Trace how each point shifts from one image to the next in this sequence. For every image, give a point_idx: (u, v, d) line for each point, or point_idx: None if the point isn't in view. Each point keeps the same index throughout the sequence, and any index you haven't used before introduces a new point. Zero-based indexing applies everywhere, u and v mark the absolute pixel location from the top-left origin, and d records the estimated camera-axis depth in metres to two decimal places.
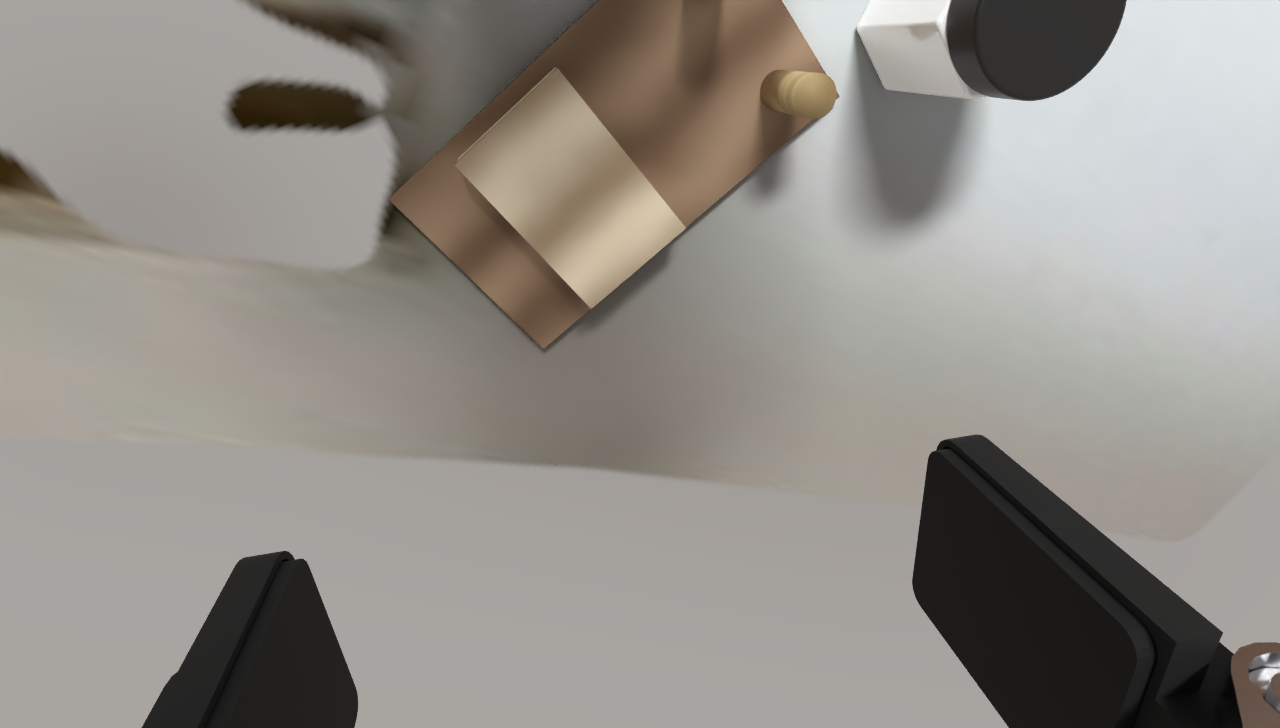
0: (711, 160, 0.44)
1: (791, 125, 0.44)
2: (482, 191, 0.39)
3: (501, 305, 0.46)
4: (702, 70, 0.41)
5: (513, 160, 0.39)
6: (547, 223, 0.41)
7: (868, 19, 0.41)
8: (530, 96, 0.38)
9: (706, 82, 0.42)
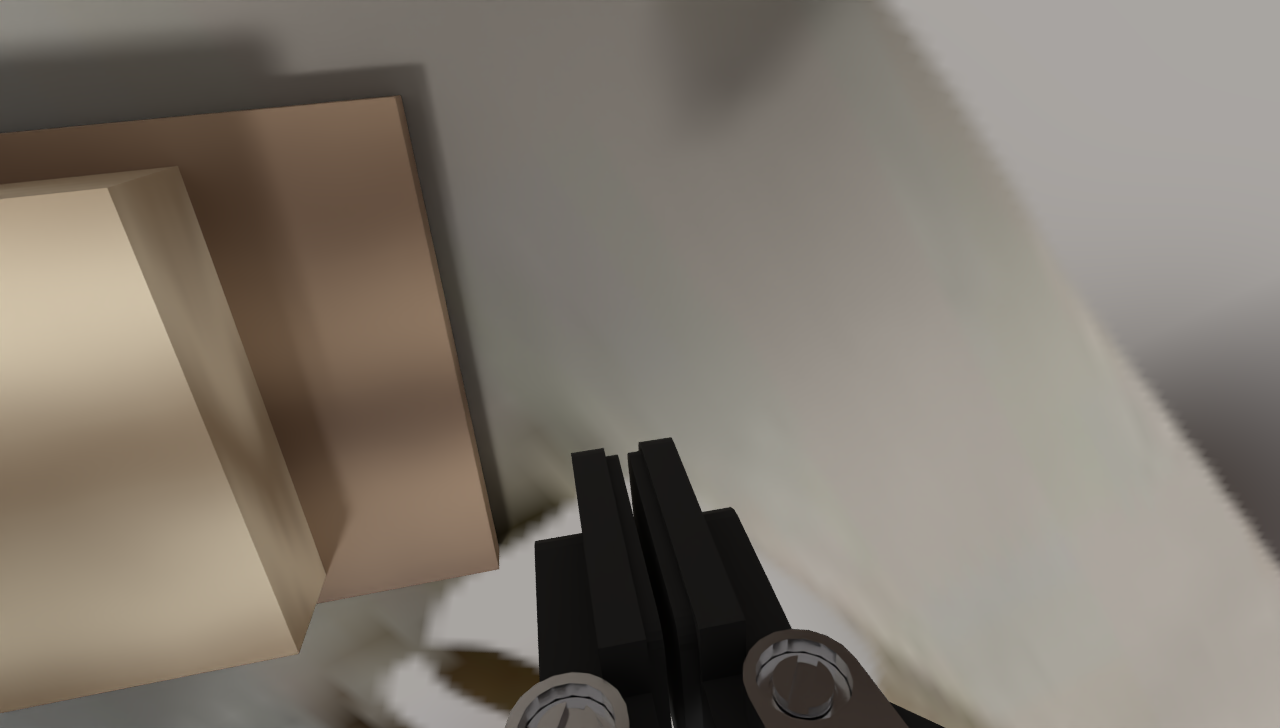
0: None
1: None
2: (268, 594, 0.17)
3: (428, 278, 0.17)
4: None
5: (156, 618, 0.16)
6: (138, 472, 0.15)
7: None
8: (52, 700, 0.17)
9: None
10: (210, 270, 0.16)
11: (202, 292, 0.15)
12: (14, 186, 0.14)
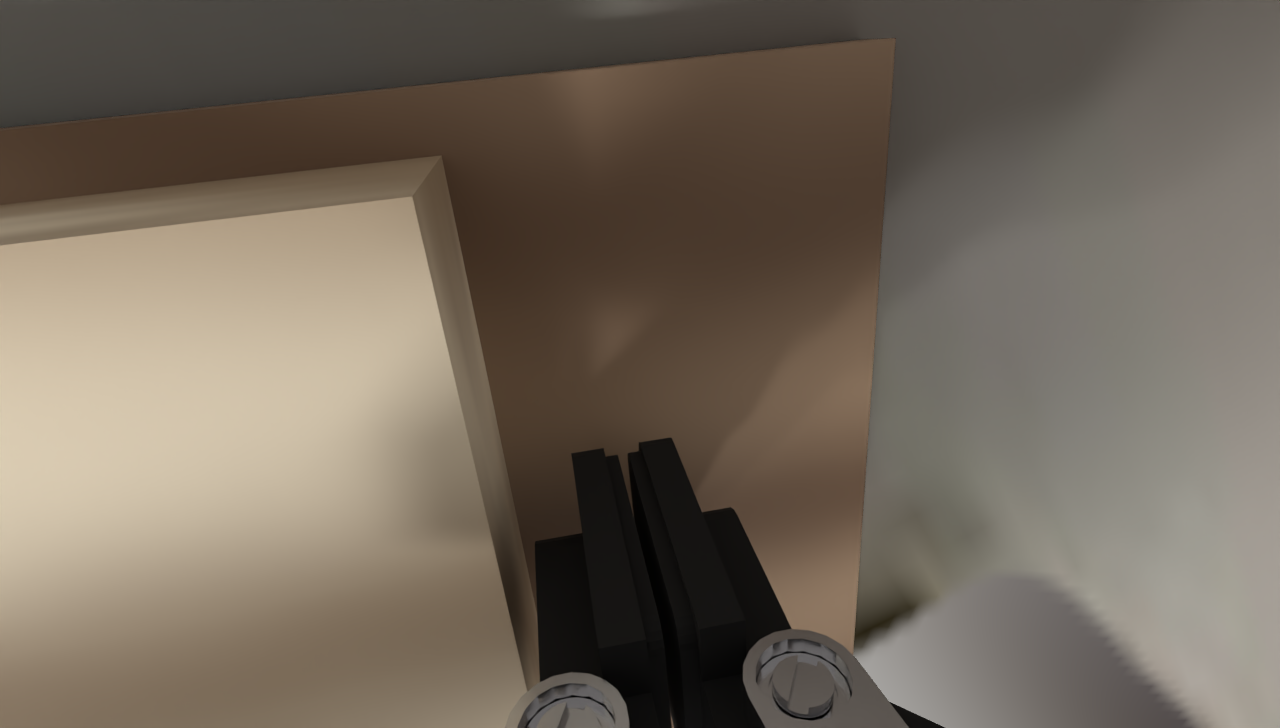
0: None
1: None
2: None
3: (867, 317, 0.12)
4: None
5: None
6: (389, 660, 0.09)
7: None
8: None
9: None
10: (473, 320, 0.10)
11: (475, 359, 0.10)
12: (197, 190, 0.08)
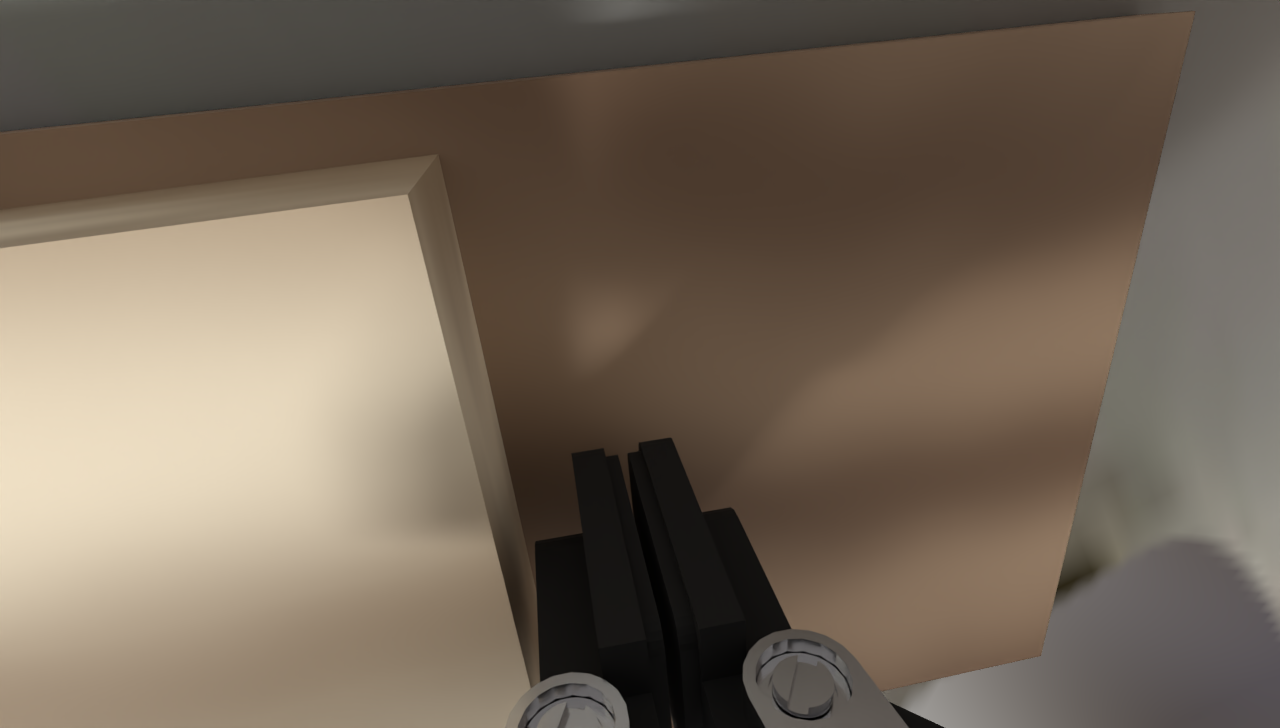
0: None
1: None
2: None
3: (1123, 280, 0.12)
4: None
5: None
6: (392, 657, 0.09)
7: None
8: None
9: None
10: (473, 319, 0.10)
11: (475, 357, 0.10)
12: (196, 192, 0.08)
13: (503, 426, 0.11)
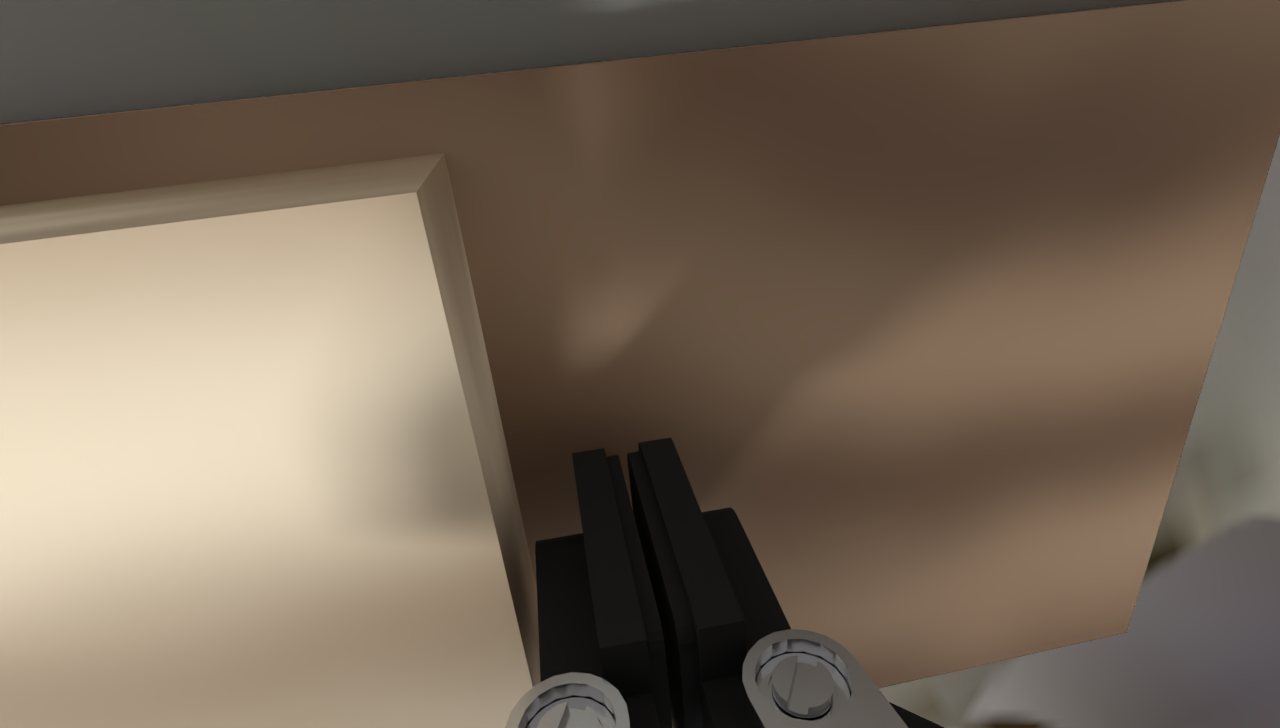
0: None
1: None
2: None
3: (1235, 255, 0.12)
4: None
5: None
6: (395, 656, 0.09)
7: None
8: None
9: None
10: (477, 318, 0.10)
11: (478, 356, 0.10)
12: (202, 189, 0.08)
13: (635, 398, 0.11)
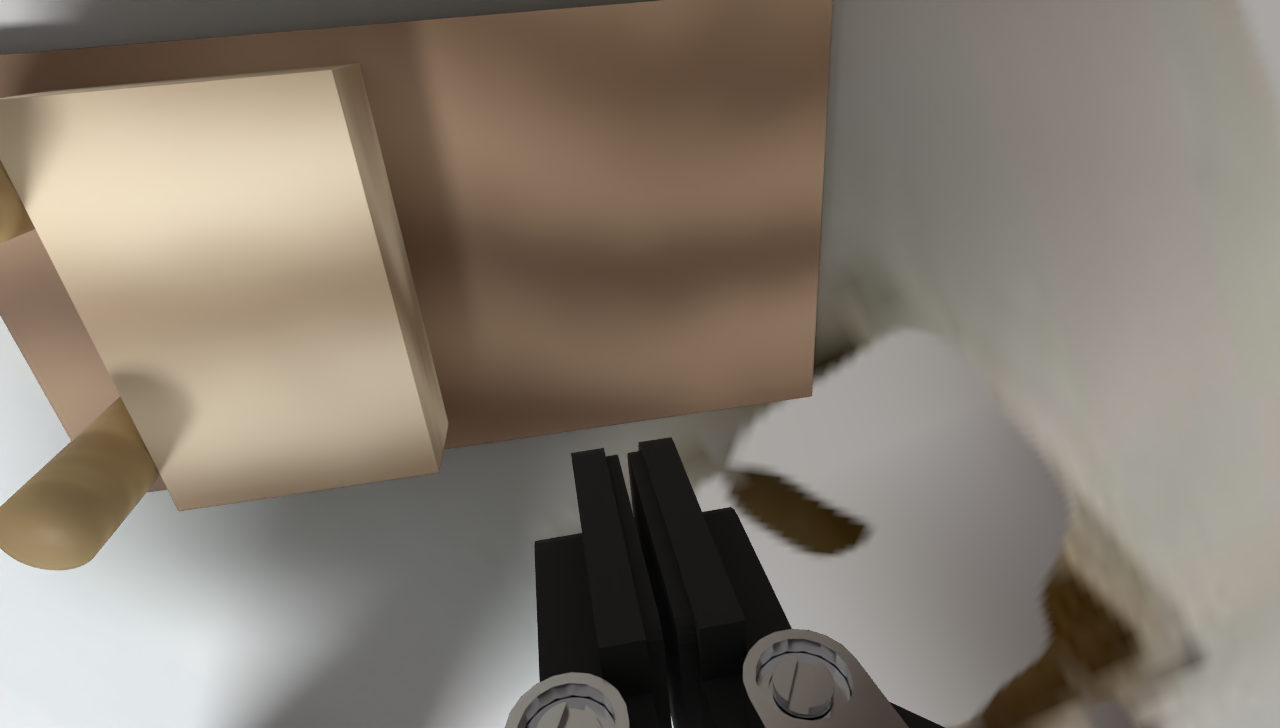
0: None
1: (17, 79, 0.18)
2: (420, 419, 0.21)
3: (820, 139, 0.22)
4: None
5: (334, 433, 0.20)
6: (331, 308, 0.19)
7: None
8: (249, 498, 0.21)
9: None
10: (379, 152, 0.20)
11: (377, 168, 0.19)
12: (241, 74, 0.18)
13: (471, 207, 0.21)
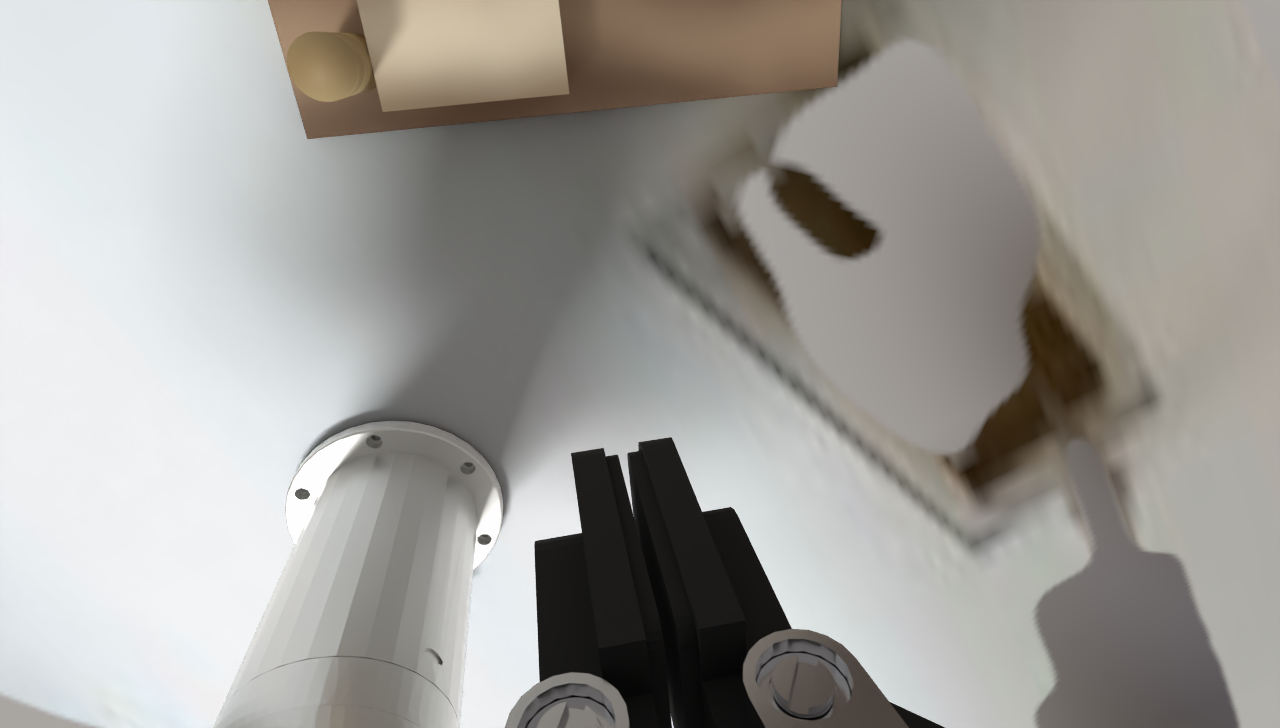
0: None
1: None
2: (560, 41, 0.28)
3: None
4: None
5: (499, 49, 0.28)
6: None
7: None
8: (433, 104, 0.29)
9: None
10: None
11: None
12: None
13: None
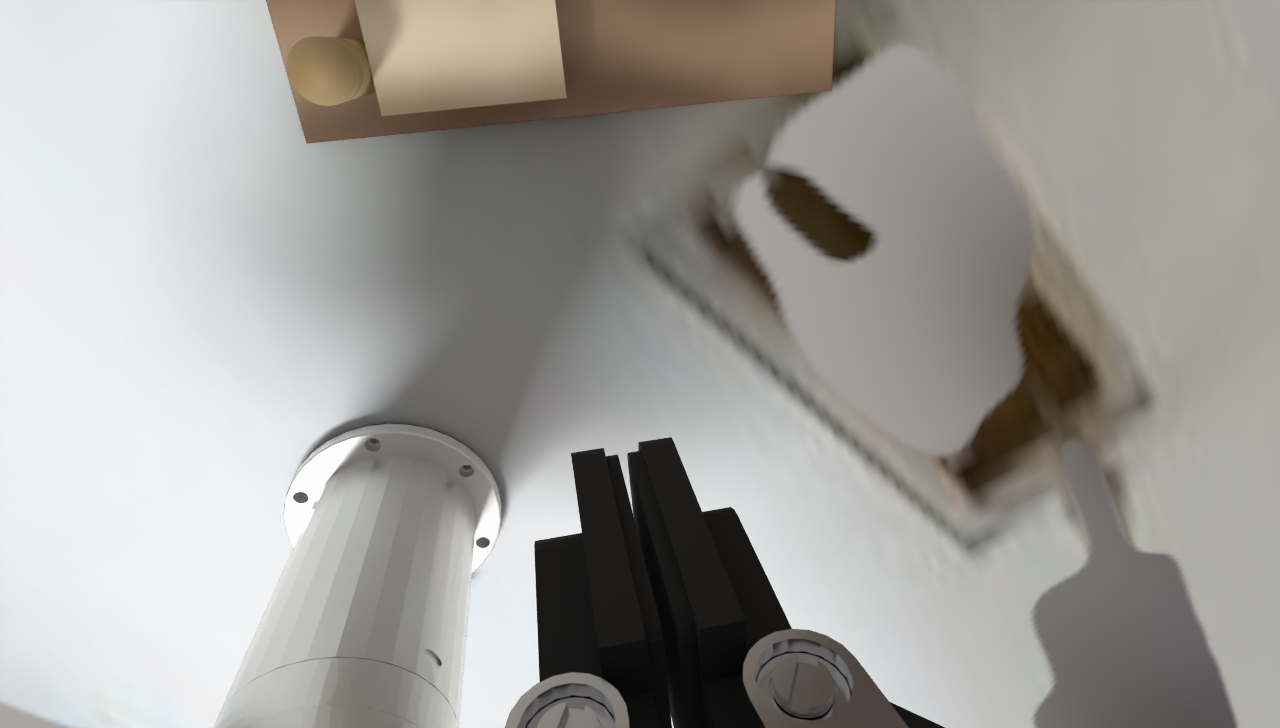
0: None
1: None
2: (557, 46, 0.29)
3: None
4: None
5: (497, 54, 0.29)
6: None
7: None
8: (432, 109, 0.29)
9: None
10: None
11: None
12: None
13: None
